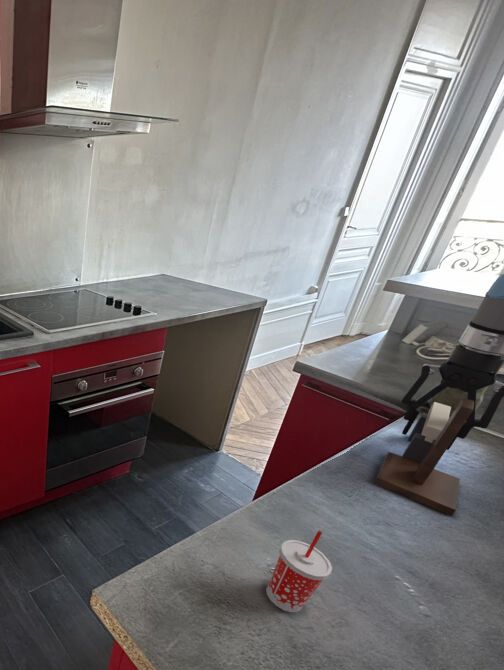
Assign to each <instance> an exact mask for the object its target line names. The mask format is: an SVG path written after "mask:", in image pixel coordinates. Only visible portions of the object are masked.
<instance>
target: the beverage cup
mask: <svg viewBox="0 0 504 670" xmlns="http://www.w3.org/2000/svg"><path fill="white" fill-rule="evenodd" d="M322 535H323V531H321V530H317V532H316V534H315V536H314V537H313V539H312V542H311V543H310V544H309V543H308V542H304V541H301V540H298V539H288V540H286V541H283V542H282V543H281V546H280V548H279V556H278V559H277V562H276V564H275V567H274V569H273V572H272V574H271V577H270V579H269V581H268V584H267V587H266V589H265V591H266V595H267V597H268V599H269V600H270V602H272V603H273V605H274V606H275V607H277V608H279V609H281V610H282V611H284V612H287V613H298V612H299V611H301V610H302V608H304V606H305V605H306V603H307V602H308V601H309V599H310V598H311V596H312V595H313V594H314V593H315V592H316V590H317V589H318V587H319V586H320V585H321V583H323V581H324V580H326V579H328V578H329V576H330V575H331V574H332V571H333V566H332V563H331V561H330V560H329V559H328V557H327V556H326V555H325V554H324V553H323V552H322V551H321V550H319V549H318V548H316V545H317V543H318V542H319V540H320V538H321V536H322Z"/></svg>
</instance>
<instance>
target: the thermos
mask: <svg viewBox="0 0 504 670" xmlns="http://www.w3.org/2000/svg"><path fill="white" fill-rule="evenodd" d="M503 365H504V363H503ZM503 365H502V366H501V368H500V369H499V371H498V372H497V374H496V376H497V375H498V373H499V372H500V370H501V369H502V367H503ZM489 387H490V385H489V386H487V387H484V388H481V389H479V390H477V394H476V408H475V412H476V411H477V409H478V408H479V407H480V406H481V404H482V403H483V400H484V394H485V393H486V392H487V389H489ZM462 398H465V399H467V398H468V392H464V391H461V390H459V389H456V388H450V387H447V388H445V389H444V390H442V391H440V392H439V393H438V394H436V395H435V396H433V397H432V398H431V399H430V402H429V403H428V407H429V409H430V408H431V406H432V405H433V403H434V402H437V403H440V404H443V405H447V406H450V407H451V410H450V415H449V418H450V417H451V416H452V414H453V412H454V411H455V409H456V408H457V406H458V405H459V403H460V402H461V400H462Z"/></svg>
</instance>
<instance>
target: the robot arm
mask: <svg viewBox="0 0 504 670" xmlns="http://www.w3.org/2000/svg"><path fill="white" fill-rule="evenodd" d="M458 342H459V344H456V345H455V346H454V348H453V350H452V351H451V352H450V354H449V356H448V358H447V359H446V361H445V362H444V363H441V364H440V365H437V364H431V363H429V362H425V363H423V365H422V367H421V370H420V371H421V373H420V374H419V375H418V377H417V378H416V380H415V381H414V382H413V383H412V384H411V386H410V387H409V389H408V390H407V391H406V393H404V395H403V397H402V399H401V403H402V404H405V405H407V406H408V408H407V410H406V411H405V413H404V415H403V420H406V421H407V422H406V424H405V426H404V428H403V429H402V432H401V435H403V436H407V435H408V433H409V430H411V427H412V426H413V424H414V422H415V421H416V419H417V418H418V416H419V414H420V412H421V410H422V407H421V406H422V405H424V404H426V403H427V402H428V401H429V400H432V399H433V396H435V395H436V394H438V393H439V392H440V391H442V390H444V389H445V388H447V387H450V388H456V389H459V390H461V391H464V392H468V398H467V399H469V400H472V401H474V407H473V411H472V412H471V414H470V415H469V417H468V418H467V420H466V421H465V423H464V424H463V426H462V427H461V429H460V430H459V432H458V433H457V435H456V436H455V438H454V439H453V441H452V442H451V444H450V445H449V447H448V448H447V450H446V451H449V450H450V449H451V447H452V445H453V444H454V443H455V441H456V440H457V438H458V439H462V440H463V439H465V438H466V437H467V436H468V434H469V433H470V432H471V431H472V429H473V428H480V429H487V428H488V427H489V426H490V423H491V421H492V419H493V418H494V415H495V413H496V411H497V410H498V407H499V405H500V403H501V401H502V400H503V398H504V383H503V382H501V381H499V380H497V377H496V376H497V375H498V373H499V372H500V370H501V369H502V367H503V366H502V365H504V364H503V363H504V273H501V274H500V275H499V276H498V277H497V278H496V279H495V281H493V283H492V284H491V286H490V288H488V290H487V292H486V293H485V295H484V297H483V299H482V301H481V303H480V304H479V306H478V308H477V310H476V312H475V314H474V315H473V317H472V319H471V321H470V322H469V323H468V324H467V326H466V328H465V329H464V331H463V332H462V335H461V336H460V338H459V340H458ZM501 366H502V367H501ZM500 368H501V369H500ZM499 369H500V370H499ZM498 371H499V372H498ZM436 372H439V374H440V376H441V379H440V380H439V381H438V382H437V383H436V384H435V385H433V386H432V387H430V388H429V389H427V390H426V391H425V392H424V393H422V394H421V395H420V396H418V397H417V398H416V399H413V397H414V396H415V395H416V394H417V392H418V391H419V390H420V388H421V387H422V386H423V384H424V383H425V382H426V381H427V379H428V377H429V376H432V375H434V374H435V373H436ZM497 372H498V373H497ZM496 374H497V375H496ZM487 386H489V387H490V386H492V389H491V390H492V392H493V393H492V395H491V397H490V399H489V401H488V403H487V405H486V407H485V409H484V411H483V413H482V415H481V417H480V419H476V411H475V408H476V394H477V390H479V389H481V388H484V387H487Z"/></svg>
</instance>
